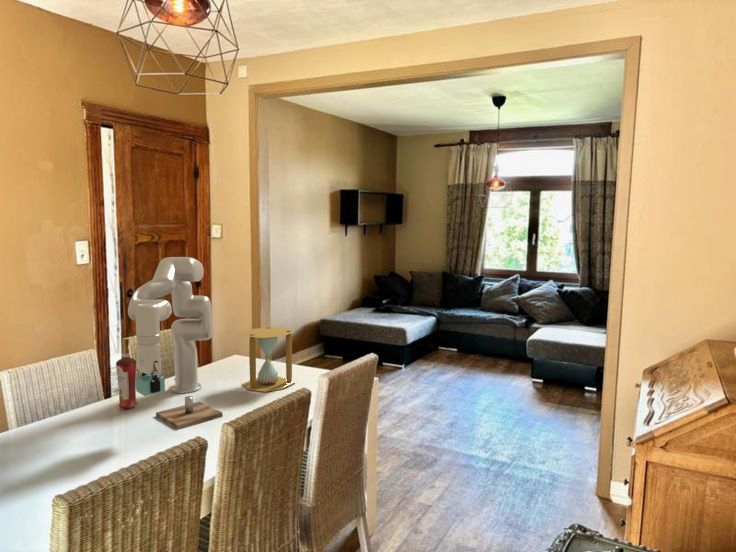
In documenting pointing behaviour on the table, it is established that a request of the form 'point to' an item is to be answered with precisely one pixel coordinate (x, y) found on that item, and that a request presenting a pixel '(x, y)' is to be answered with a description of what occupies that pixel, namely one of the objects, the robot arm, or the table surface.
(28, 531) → the table surface
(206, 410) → the walnut board
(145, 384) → the teal collar
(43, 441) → the table surface
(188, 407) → the steel post
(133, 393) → the liquor
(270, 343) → the hourglass
